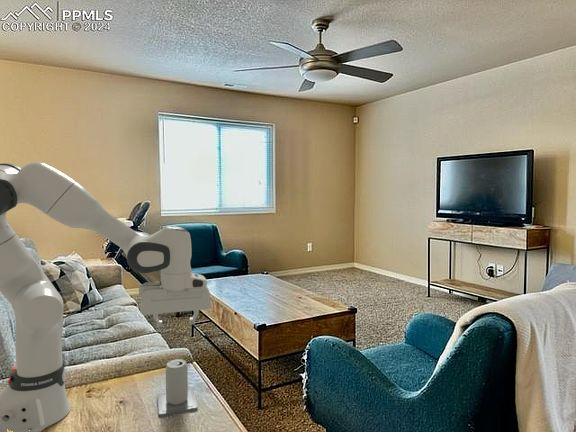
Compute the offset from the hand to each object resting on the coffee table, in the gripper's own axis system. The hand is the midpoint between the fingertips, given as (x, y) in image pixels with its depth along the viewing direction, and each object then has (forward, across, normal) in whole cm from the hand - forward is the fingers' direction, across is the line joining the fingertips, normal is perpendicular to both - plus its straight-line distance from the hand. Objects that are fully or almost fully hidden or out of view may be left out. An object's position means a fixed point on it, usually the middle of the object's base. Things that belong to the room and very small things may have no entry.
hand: (176, 325), depth 118 cm
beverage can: (+24, 0, 0) cm, 24 cm away
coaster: (+25, 0, 0) cm, 25 cm away
